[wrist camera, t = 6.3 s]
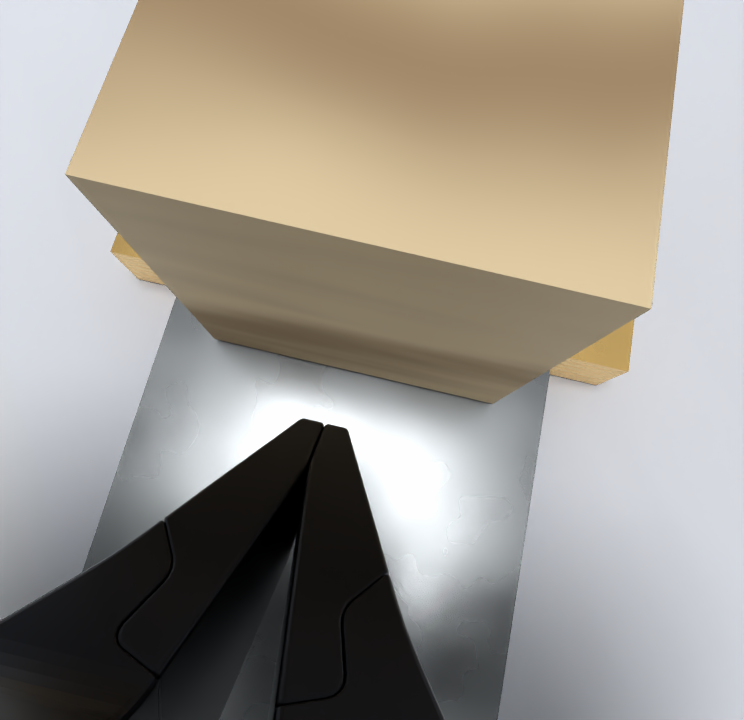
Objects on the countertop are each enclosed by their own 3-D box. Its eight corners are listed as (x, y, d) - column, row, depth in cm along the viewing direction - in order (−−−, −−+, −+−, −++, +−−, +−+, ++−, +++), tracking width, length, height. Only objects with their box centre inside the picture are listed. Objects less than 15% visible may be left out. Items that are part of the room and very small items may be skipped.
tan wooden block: (492, 403, 15) (651, 309, 7) (214, 338, 15) (65, 174, 7) (526, 214, 16) (688, -40, 8) (272, 156, 16) (200, -146, 9)
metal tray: (539, 822, 14) (601, 931, 10) (-11, 687, 14) (-126, 750, 11) (629, 120, 19) (690, 41, 16) (228, 31, 19) (201, -67, 16)
